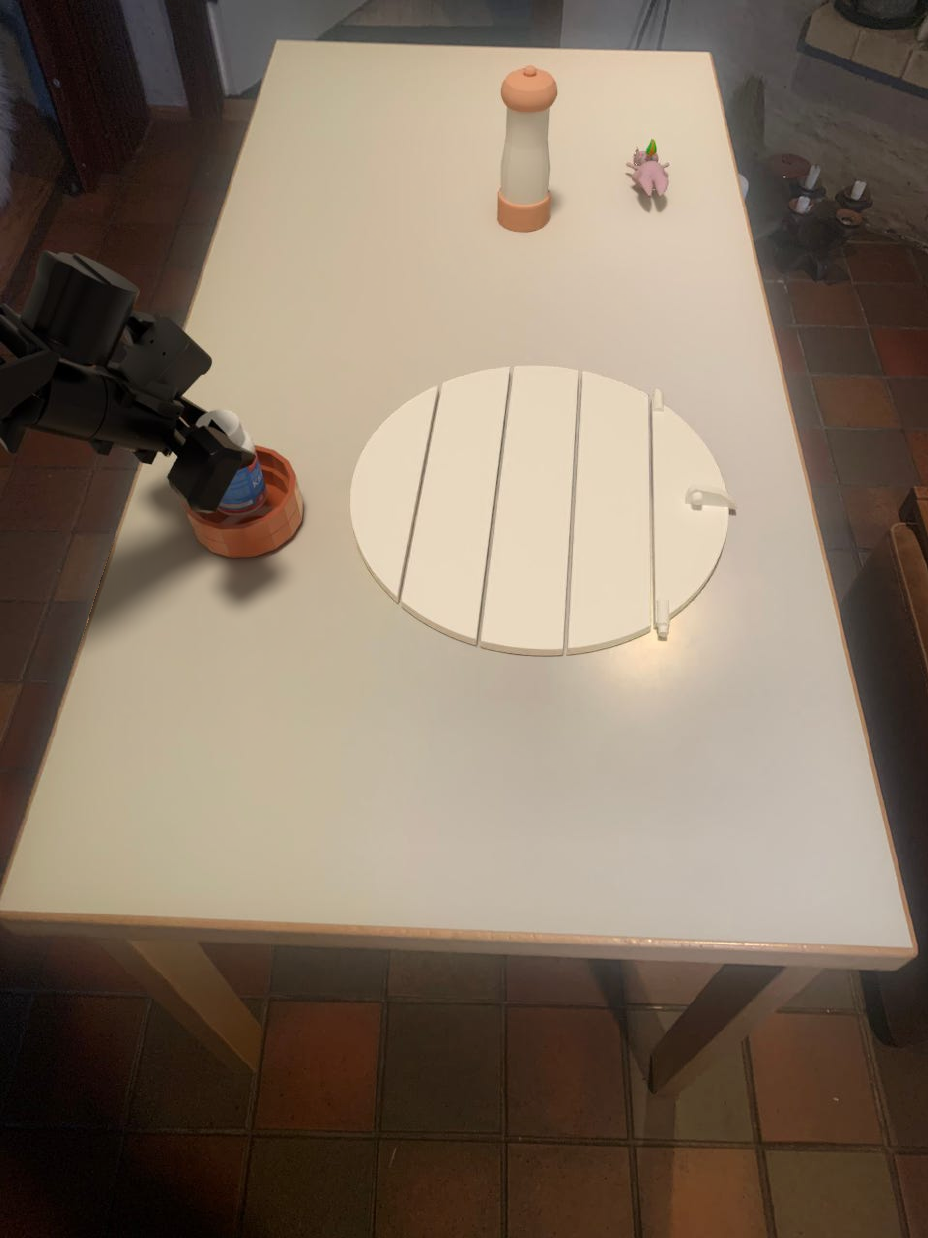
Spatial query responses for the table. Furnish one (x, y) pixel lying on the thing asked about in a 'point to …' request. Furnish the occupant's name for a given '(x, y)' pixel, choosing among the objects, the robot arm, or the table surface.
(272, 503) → the bowl
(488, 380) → the round slatted board
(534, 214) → the salt shaker
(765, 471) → the table surface
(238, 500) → the pill bottle
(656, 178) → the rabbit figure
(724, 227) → the table surface
